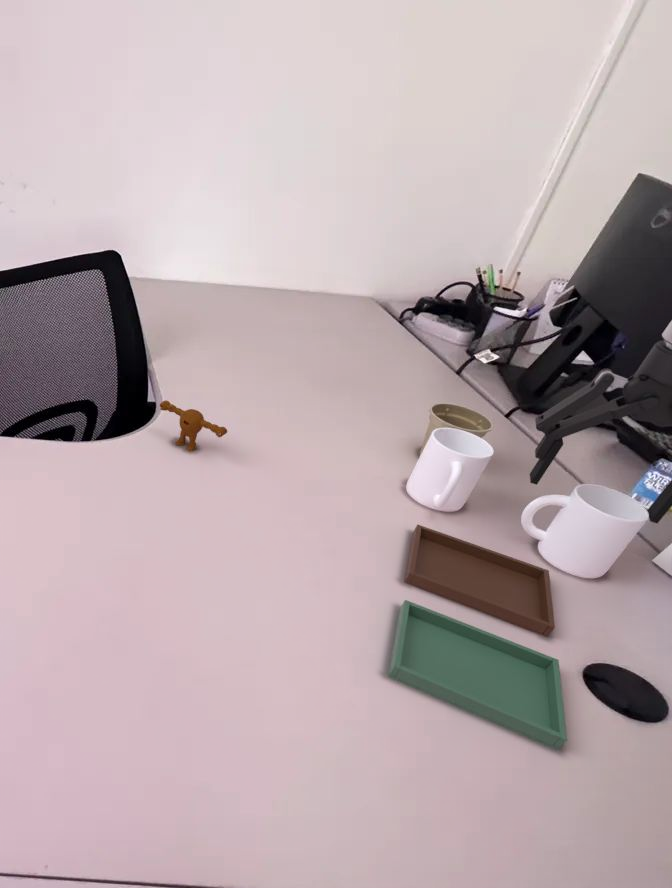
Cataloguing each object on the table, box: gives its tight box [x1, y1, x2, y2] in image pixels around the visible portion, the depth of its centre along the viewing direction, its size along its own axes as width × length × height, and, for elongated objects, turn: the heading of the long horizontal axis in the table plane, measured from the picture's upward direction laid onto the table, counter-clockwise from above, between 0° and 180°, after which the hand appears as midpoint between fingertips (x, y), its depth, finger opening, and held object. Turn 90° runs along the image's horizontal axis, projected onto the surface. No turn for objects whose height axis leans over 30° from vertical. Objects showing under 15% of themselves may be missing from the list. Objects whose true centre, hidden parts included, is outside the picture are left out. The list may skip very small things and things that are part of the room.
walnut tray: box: [403, 524, 556, 638], centre depth 88 cm, size 16×12×2 cm
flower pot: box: [419, 402, 495, 457], centre depth 112 cm, size 9×9×9 cm
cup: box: [405, 428, 495, 513], centre depth 100 cm, size 8×12×10 cm
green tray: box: [387, 599, 568, 751], centre depth 75 cm, size 16×12×2 cm
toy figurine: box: [159, 400, 228, 452], centre depth 108 cm, size 12×4×7 cm, turn 47°
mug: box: [520, 483, 649, 579], centre depth 92 cm, size 12×8×10 cm
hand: (590, 497), depth 89 cm, fingers open, 13 cm apart
